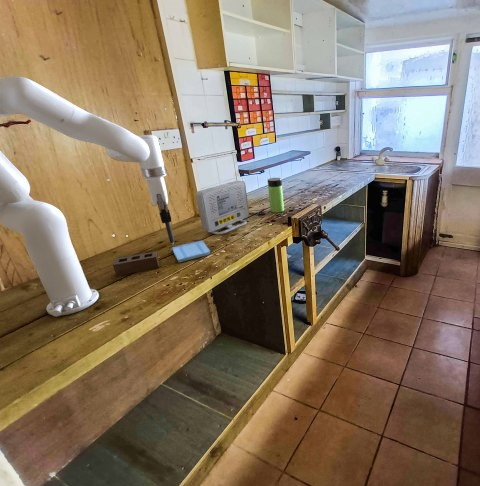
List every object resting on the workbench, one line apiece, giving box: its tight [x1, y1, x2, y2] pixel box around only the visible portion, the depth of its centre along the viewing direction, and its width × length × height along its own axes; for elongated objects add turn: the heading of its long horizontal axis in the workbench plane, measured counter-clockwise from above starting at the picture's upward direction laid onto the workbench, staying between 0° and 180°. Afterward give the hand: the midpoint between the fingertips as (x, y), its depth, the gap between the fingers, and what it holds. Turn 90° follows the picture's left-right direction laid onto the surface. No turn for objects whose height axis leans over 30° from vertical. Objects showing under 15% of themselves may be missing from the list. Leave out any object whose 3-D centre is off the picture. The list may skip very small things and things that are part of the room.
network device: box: [195, 179, 250, 235], centre depth 146 cm, size 26×9×20 cm, turn 148°
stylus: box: [164, 222, 176, 245], centre depth 118 cm, size 2×2×15 cm
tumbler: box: [267, 177, 285, 213], centre depth 167 cm, size 8×8×17 cm
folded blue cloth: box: [171, 240, 211, 263], centre depth 124 cm, size 14×12×1 cm
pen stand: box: [112, 250, 160, 277], centre depth 112 cm, size 5×13×4 cm, turn 114°
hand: (166, 221), depth 117 cm, fingers closed on stylus, 1 cm apart
